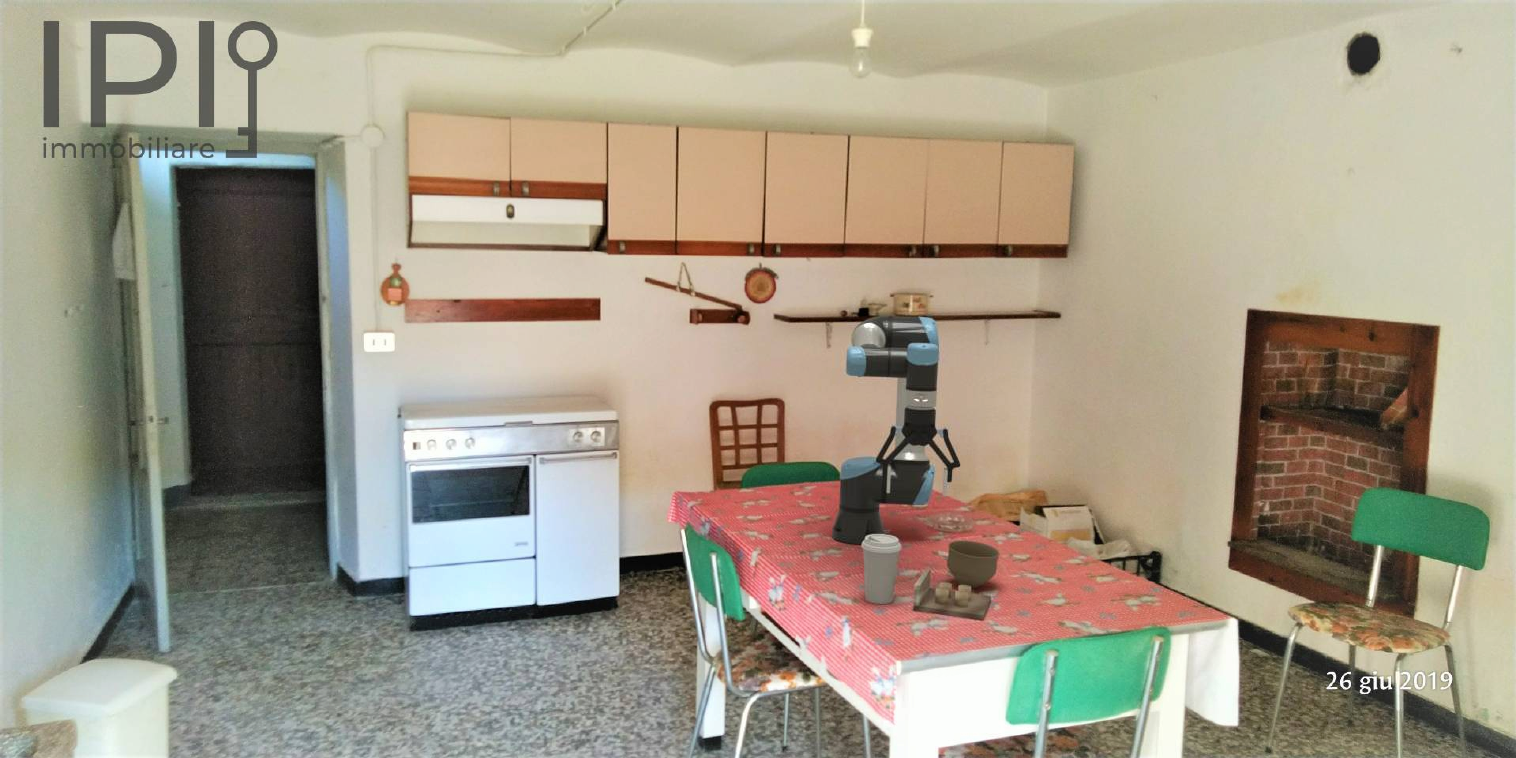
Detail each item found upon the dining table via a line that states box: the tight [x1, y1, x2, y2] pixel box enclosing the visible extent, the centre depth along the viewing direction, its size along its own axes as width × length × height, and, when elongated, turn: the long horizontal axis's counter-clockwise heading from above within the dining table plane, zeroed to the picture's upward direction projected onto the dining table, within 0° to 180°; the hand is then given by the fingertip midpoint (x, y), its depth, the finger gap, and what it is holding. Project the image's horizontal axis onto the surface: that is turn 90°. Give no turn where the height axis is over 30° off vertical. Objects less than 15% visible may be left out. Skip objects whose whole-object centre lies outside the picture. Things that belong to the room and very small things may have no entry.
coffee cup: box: [860, 533, 903, 605], centre depth 241 cm, size 10×10×15 cm
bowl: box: [946, 540, 1000, 589], centre depth 254 cm, size 13×13×10 cm
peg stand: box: [912, 567, 992, 621], centre depth 239 cm, size 16×14×6 cm
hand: (916, 493), depth 247 cm, fingers open, 13 cm apart
